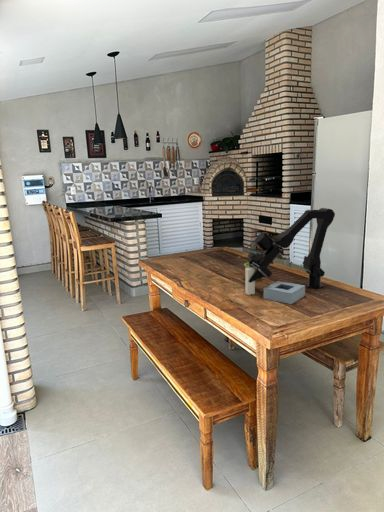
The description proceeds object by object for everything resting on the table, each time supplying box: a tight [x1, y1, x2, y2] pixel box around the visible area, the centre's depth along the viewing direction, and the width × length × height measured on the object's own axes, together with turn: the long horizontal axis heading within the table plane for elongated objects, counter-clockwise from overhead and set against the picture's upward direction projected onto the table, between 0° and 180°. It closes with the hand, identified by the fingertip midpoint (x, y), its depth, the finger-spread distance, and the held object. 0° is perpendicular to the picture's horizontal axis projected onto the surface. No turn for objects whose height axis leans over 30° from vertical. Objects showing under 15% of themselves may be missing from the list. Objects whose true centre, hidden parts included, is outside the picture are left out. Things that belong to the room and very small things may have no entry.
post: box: [244, 267, 256, 296], centre depth 187 cm, size 4×4×12 cm
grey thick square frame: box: [263, 280, 306, 305], centre depth 181 cm, size 14×14×5 cm
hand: (247, 280), depth 187 cm, fingers open, 5 cm apart
